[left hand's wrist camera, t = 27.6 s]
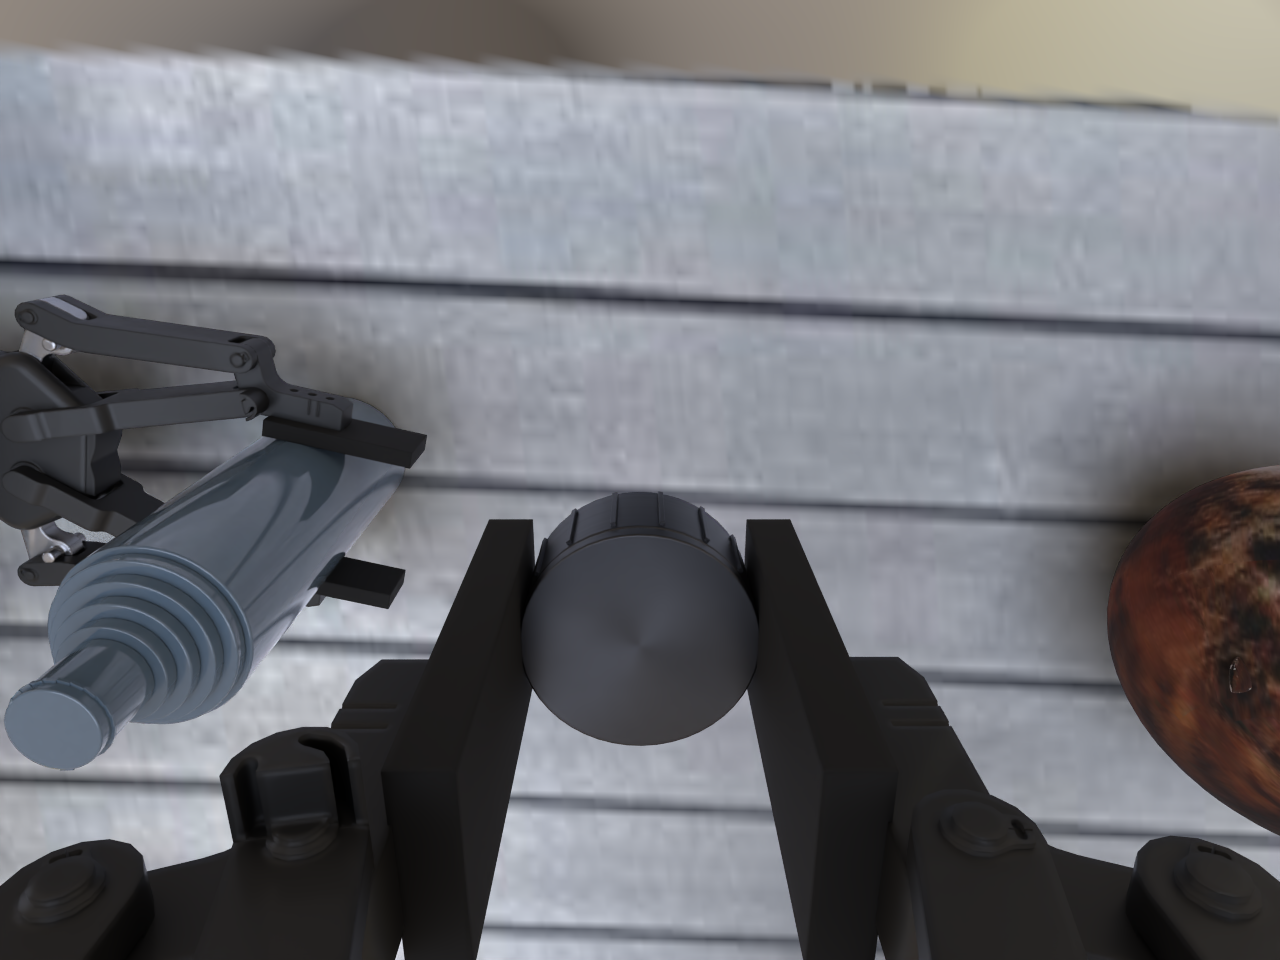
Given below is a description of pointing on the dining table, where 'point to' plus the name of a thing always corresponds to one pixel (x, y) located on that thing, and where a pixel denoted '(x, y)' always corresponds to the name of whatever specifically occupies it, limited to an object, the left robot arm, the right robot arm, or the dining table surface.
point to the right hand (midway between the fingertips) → (406, 521)
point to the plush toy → (1208, 637)
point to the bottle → (195, 595)
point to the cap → (639, 620)
